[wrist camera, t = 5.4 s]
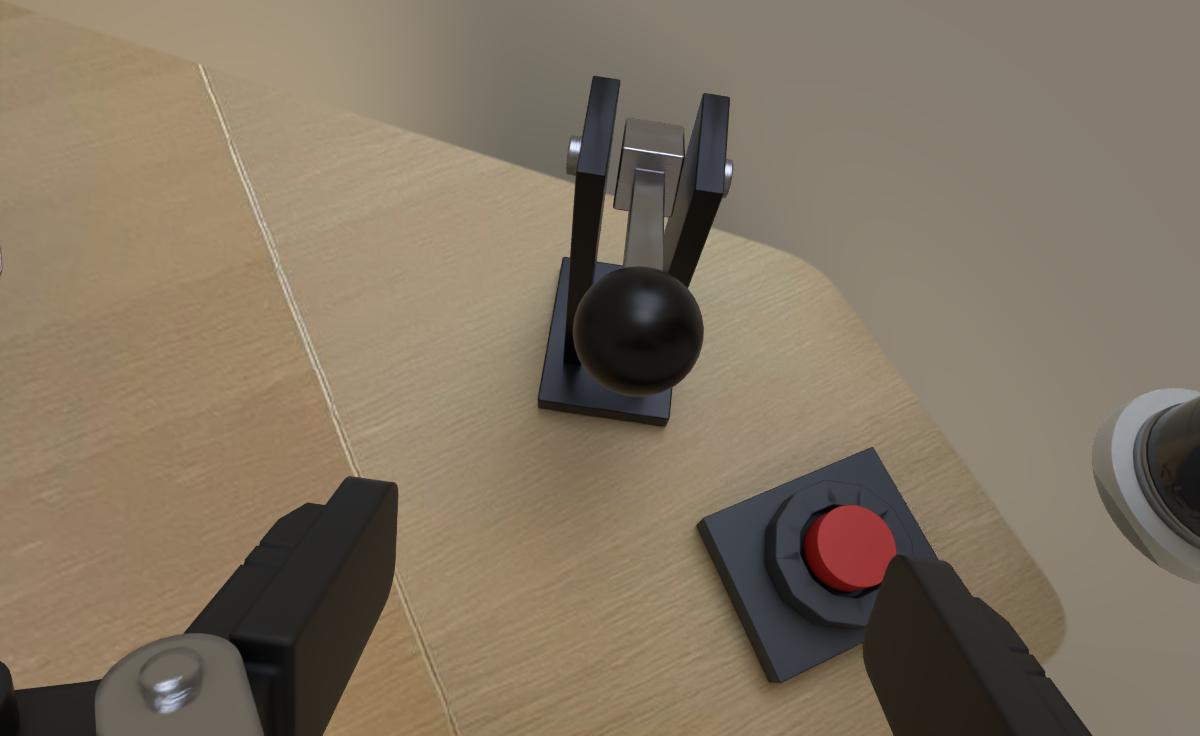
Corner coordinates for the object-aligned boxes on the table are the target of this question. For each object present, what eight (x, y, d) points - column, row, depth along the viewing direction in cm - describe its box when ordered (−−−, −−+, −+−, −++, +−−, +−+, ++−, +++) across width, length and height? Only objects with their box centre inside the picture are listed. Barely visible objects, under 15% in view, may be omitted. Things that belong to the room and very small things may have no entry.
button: (854, 501, 34) (869, 492, 32) (894, 573, 32) (912, 568, 31) (789, 529, 33) (802, 522, 31) (828, 604, 32) (843, 600, 30)
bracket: (665, 427, 38) (750, 256, 22) (537, 408, 38) (534, 223, 22) (679, 284, 41) (759, 54, 26) (562, 267, 41) (574, 25, 26)
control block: (859, 455, 38) (888, 435, 35) (941, 598, 35) (981, 591, 32) (695, 524, 36) (711, 509, 32) (769, 682, 33) (793, 683, 30)
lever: (689, 432, 18) (720, 330, 16) (559, 413, 18) (572, 307, 16) (684, 198, 28) (703, 114, 26) (600, 185, 28) (612, 100, 26)
